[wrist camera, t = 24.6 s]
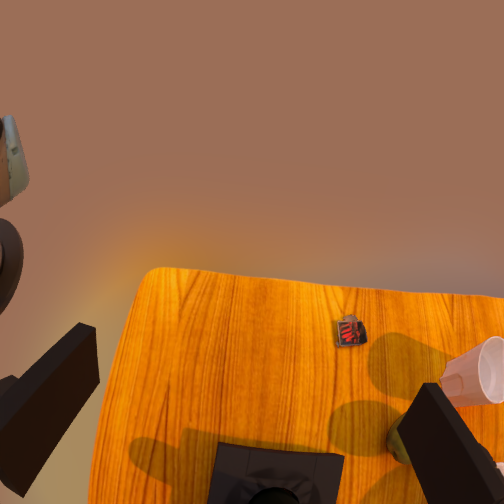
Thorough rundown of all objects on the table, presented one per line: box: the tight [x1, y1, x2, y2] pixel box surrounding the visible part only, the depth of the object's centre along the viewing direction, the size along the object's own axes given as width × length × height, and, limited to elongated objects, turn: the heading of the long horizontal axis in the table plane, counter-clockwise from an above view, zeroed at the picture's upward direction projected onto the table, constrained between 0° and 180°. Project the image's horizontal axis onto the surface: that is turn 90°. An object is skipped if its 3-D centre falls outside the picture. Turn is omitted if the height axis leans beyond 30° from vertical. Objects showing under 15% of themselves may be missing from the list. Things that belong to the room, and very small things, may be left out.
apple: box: [386, 412, 412, 464], centre depth 30 cm, size 8×9×8 cm
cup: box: [439, 336, 504, 407], centre depth 33 cm, size 10×10×10 cm
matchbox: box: [336, 315, 368, 347], centre depth 40 cm, size 5×5×1 cm
